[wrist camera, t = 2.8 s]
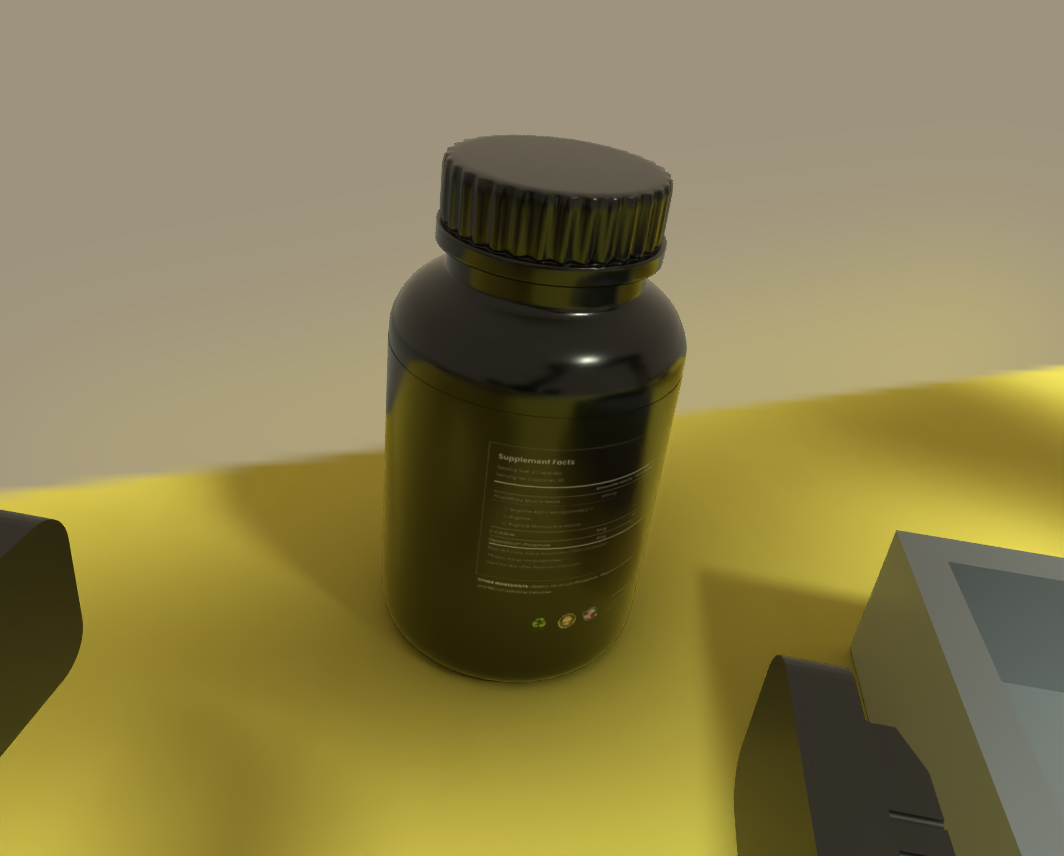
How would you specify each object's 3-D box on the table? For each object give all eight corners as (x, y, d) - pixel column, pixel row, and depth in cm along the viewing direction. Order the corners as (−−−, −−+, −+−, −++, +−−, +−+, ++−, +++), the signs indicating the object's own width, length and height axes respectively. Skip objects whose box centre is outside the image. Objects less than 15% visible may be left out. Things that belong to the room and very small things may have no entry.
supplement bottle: (352, 545, 26) (357, 116, 20) (564, 510, 28) (625, 124, 22) (423, 724, 20) (459, 211, 14) (675, 661, 23) (795, 207, 17)
